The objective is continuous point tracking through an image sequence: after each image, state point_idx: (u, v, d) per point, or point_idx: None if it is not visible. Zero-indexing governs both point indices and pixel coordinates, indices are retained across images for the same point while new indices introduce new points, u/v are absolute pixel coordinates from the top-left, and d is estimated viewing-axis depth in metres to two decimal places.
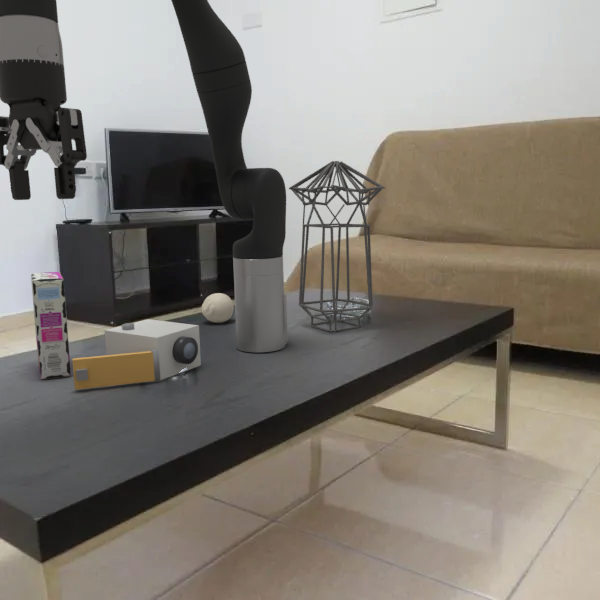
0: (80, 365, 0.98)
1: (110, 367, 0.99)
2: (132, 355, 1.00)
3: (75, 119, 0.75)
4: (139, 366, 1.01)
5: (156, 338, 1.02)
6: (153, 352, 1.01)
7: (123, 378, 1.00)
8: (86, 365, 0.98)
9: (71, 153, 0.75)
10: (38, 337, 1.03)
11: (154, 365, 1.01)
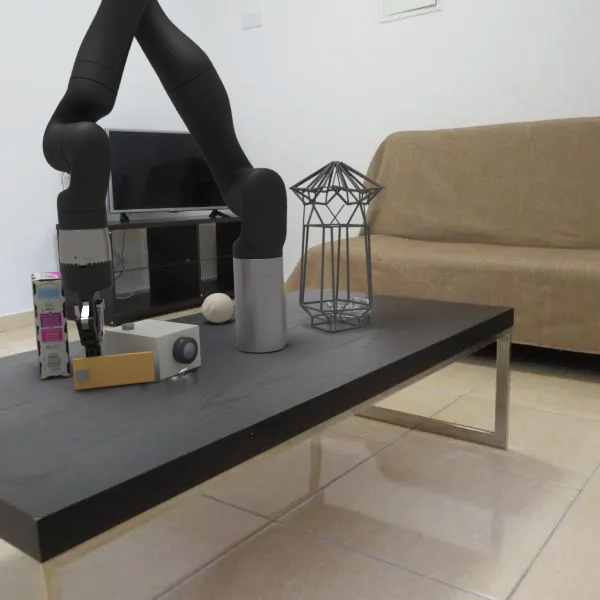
0: (80, 365, 0.98)
1: (110, 367, 0.99)
2: (132, 355, 1.00)
3: None
4: (139, 366, 1.01)
5: (156, 338, 1.02)
6: (153, 352, 1.01)
7: (123, 378, 1.00)
8: (86, 365, 0.98)
9: None
10: (38, 337, 1.03)
11: (154, 365, 1.01)
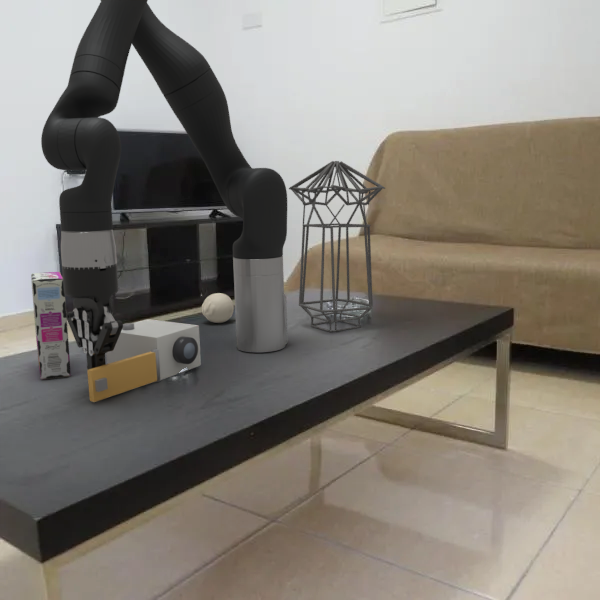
0: (98, 375, 0.92)
1: (123, 373, 0.96)
2: (139, 357, 0.98)
3: None
4: (145, 368, 0.99)
5: (156, 338, 1.02)
6: (156, 352, 1.01)
7: (133, 383, 0.98)
8: (103, 374, 0.93)
9: None
10: (38, 337, 1.03)
11: (156, 365, 1.01)
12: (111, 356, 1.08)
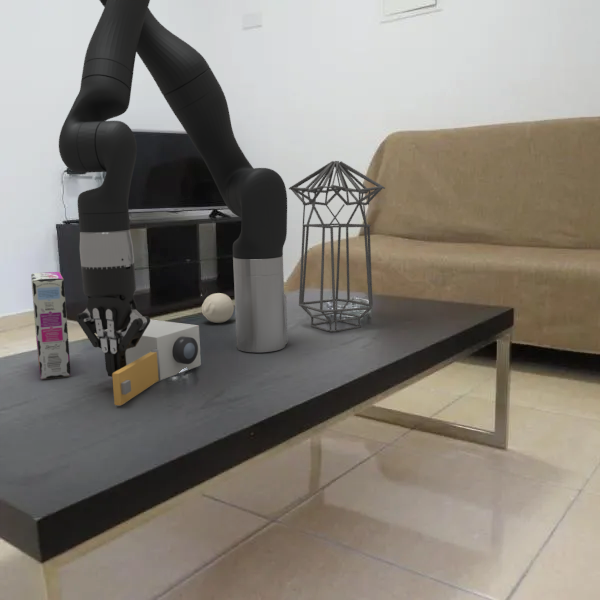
0: (122, 378, 0.91)
1: (137, 374, 0.95)
2: (147, 358, 0.98)
3: None
4: (151, 368, 0.99)
5: (156, 338, 1.02)
6: (157, 352, 1.01)
7: (144, 384, 0.97)
8: (126, 376, 0.92)
9: None
10: (38, 337, 1.03)
11: (158, 365, 1.01)
12: None
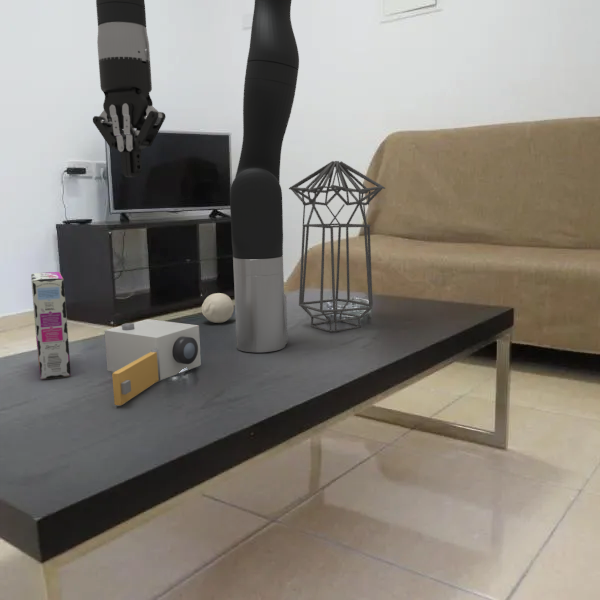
0: (122, 378, 0.91)
1: (137, 374, 0.95)
2: (147, 358, 0.98)
3: None
4: (151, 368, 0.99)
5: (156, 338, 1.02)
6: (157, 352, 1.01)
7: (144, 384, 0.97)
8: (126, 376, 0.92)
9: None
10: (38, 337, 1.03)
11: (158, 365, 1.01)
12: (111, 356, 1.08)
